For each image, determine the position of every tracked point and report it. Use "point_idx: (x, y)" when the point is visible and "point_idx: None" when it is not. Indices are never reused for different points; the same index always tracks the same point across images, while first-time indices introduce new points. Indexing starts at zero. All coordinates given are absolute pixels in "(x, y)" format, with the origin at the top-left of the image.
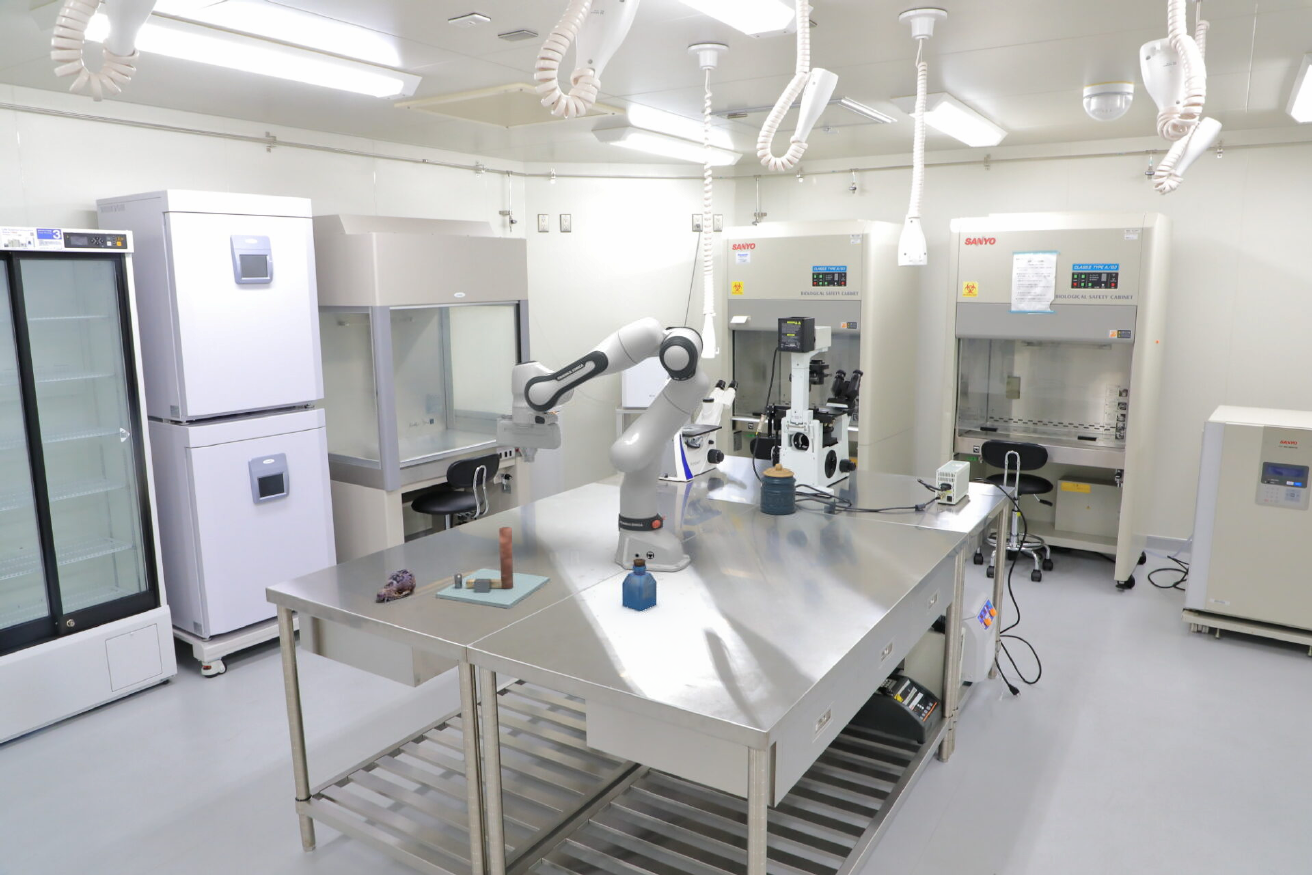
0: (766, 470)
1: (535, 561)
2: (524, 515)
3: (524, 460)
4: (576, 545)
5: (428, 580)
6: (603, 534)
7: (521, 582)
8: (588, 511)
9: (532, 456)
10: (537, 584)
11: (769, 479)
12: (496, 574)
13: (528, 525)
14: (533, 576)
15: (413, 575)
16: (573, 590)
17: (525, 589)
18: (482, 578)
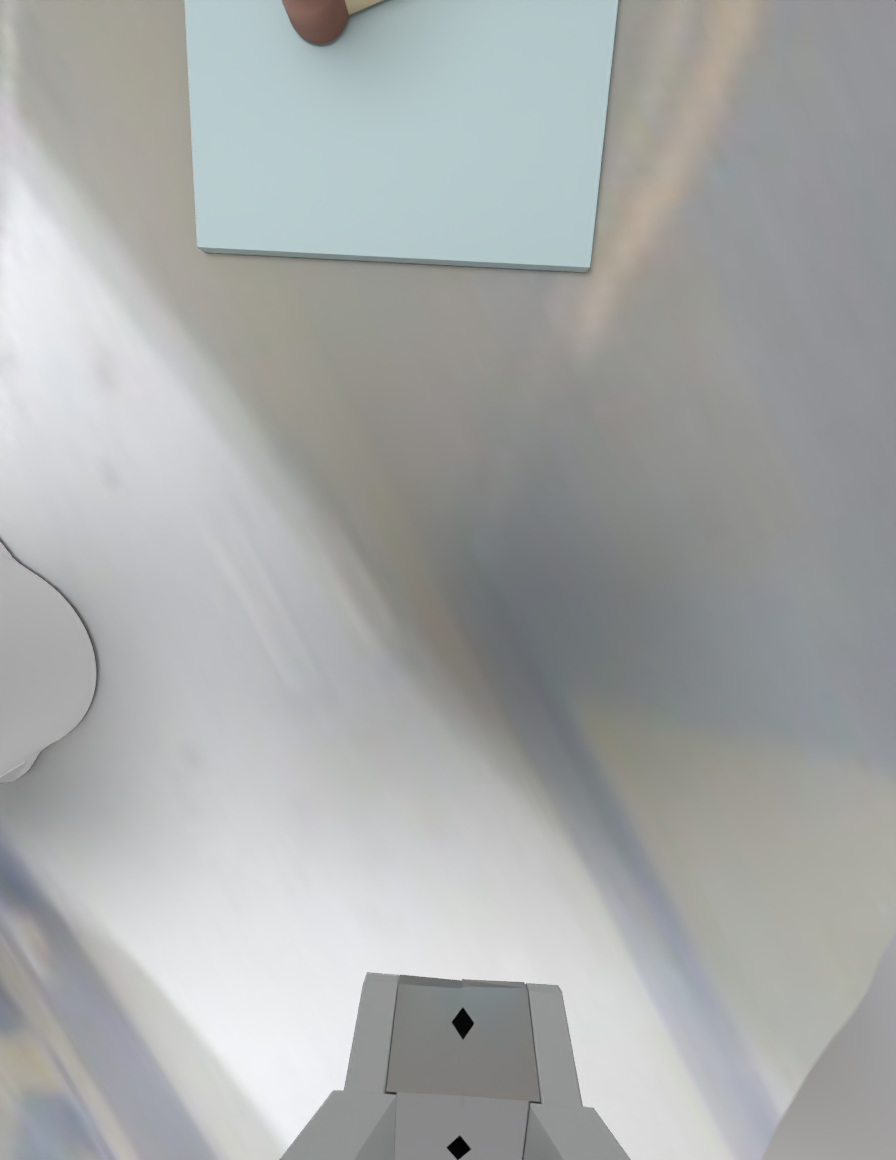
0: None
1: (405, 501)
2: (733, 1057)
3: (526, 1001)
4: (336, 758)
5: (799, 34)
6: (298, 916)
7: (290, 120)
8: None
9: (331, 1120)
10: (199, 118)
11: None
12: (471, 198)
13: (659, 945)
14: (280, 234)
15: None
16: (35, 158)
17: (216, 15)
18: (511, 107)
